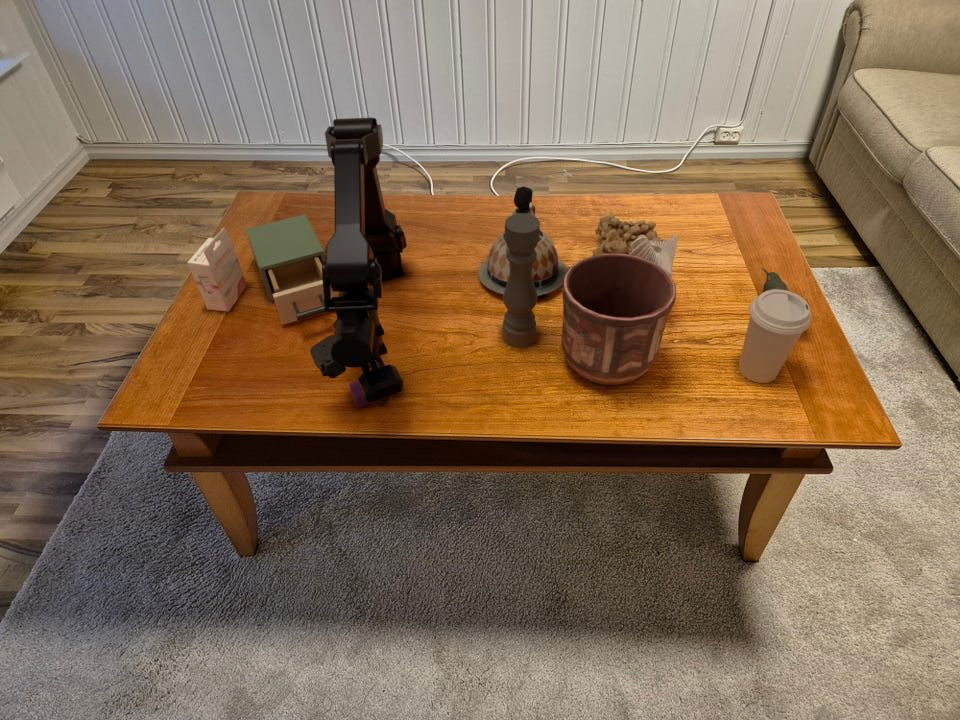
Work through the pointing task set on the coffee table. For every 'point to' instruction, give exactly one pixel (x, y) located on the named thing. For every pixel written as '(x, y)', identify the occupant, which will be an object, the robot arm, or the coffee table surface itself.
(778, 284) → the sculpture
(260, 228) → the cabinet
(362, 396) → the purple box
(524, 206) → the patterned domed piece
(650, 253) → the shell sculpture
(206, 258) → the ink cartridge box
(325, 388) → the coffee table surface
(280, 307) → the drawer
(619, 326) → the pottery
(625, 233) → the mineral formation
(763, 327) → the coffee cup
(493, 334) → the coffee table surface
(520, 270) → the candle holder
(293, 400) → the coffee table surface
